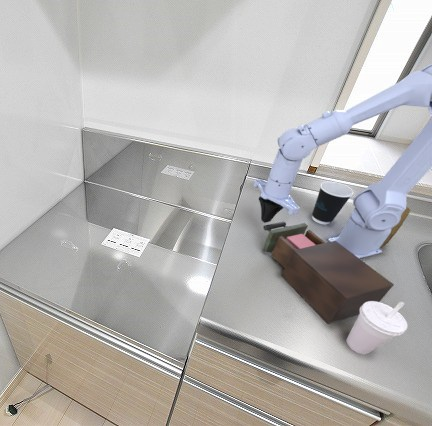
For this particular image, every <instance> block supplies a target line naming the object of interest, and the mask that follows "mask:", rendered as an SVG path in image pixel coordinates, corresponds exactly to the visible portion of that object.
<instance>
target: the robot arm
mask: <svg viewBox="0 0 432 426" xmlns="http://www.w3.org/2000/svg"><path fill="white" fill-rule="evenodd" d="M402 106H407V107H408V106H409V107H421V108H427V110H428V112H429V115H430V116H431V118H430V120H429V121H428V122H427V123H426V124H425V126H424V127H423V128H422V129H421V131H420V132H418V134H417V135H416V136H415V138H414V139H413V140H412V142H410V144H409V145H408V146H407V148H406V149H405V151H403V152H402V154H401V155H400V156H399V157H398V159H397V160H396V161H395V162H394V163H393V164H392V166H391V167H390V169H389V170H388V171H387V172H386V174H385V175H384V176H383V177H382V179H381V180H380V181H377V182H373V183H369V185H368V186H367V187H366V188H365V189H364V190H362V191H360V192H358V193H357V194H356V195H355V196H354V198H353V201H352V204H353V206H354V209H353V210H352V213H351V214H350V217H349V218H348V219H347V221H346V223H345V225H344V227H343V228H342V230H341V232H340V233H339V235H338V236H333V237H330V238H328V239H327V242H331V241H337V242H338V243H339V244H341V245H342V246H343V247H345V248H346V249H347V250H349V251H350V252H351V253H353V254H354V255H355V256H357V257H358V258H359V259H363V258H367V257H370V256H371V257H372V256H374V255H379V254H382V253H383V251H382V249H381V245H382V244H383V243H384V241H385V240H386V238H387V237H388V236H389V234H390V233H391V228H393V227H394V226H396V225H397V224H398V223H399V221H400V219H401V215H402V213H403V212H404V211H405V209H406V206H407V195H408V194H409V193H410V192H411V190H412V189H413V188H414V187H415V186H416V185H417V184H418V183H419V182H420V181H421V179H423V177H424V176H425V175H426V173H428V172H429V171H430V170H431V168H432V63H430V64H428V65H426V66H424V67H422V68H421V69H418V70H415V71H412V72H411V73H409V74H407V76H405V77H404V78H403V79H401V80H400V81H399V82H397V83H394V84H393V85H391V86H388V87H387V88H385V89H384V90H381V91H380V92H378V93H376V94H374V95H372V96H371V97H369V98H367V99H365V100H363V101H361V102H359V103H357V104H356V105H354V106H352V107H350V108H348V109H346V110H339V109H334V110H332V111H329V110H326V111H324V112H323V113H321V116H319V117H318V118H315V119H314V120H312V121H309V122H308V123H306V124H303V123H302V124H300V125H298V126H297V128H289V129H287V130H285V131H284V132H283V133H282V134H281V135H280V136H279V137H277V145H278V147H279V148H278V150H277V152H276V155H275V158H274V160H273V162H272V165H271V169H270V172H269V175H268V177H267V180H266V181H265V180H263V179H262V178H259V179H255V180H254V182H253V185H252V186H253V187H254V188H257V189H259V191H260V192H261V193H260V196H258V201H259V205H260V211H261V212H260V216H261V217H260V221H262V223H264V224H265V223H269V222H271V221H272V220H273V219H274V218H275V216H276V215H277V214H278V213H279V212H280V211H282V210H283V209H285V210H286V211H287V214H288V215H289V216H295V215H298V214H299V212H300V210H301V207H300V206H299V205H298V204H297V203H296V202H295V201H294V199H293V198H292V196H291V195H290V193H291V190H292V187H293V185H294V183H295V180H296V177H297V175H298V172H299V170H300V168H301V166H302V162H303V160H304V159H306V158H307V157H308V156H309V155H311V153H312V151H313V150H315V149H316V148H318V147H321V146H323V145H326V144H328V143H330V142H332V141H334V140H336V139H339V138H341V137H344V136H345V135H348V133H350V131H351V129H352V127H353V126H355V125H357V124H360V123H361V122H364V121H367V120H369V119H372V118H374V117H377V116H379V115H382V114H384V113H386V112H389V111H391V110H395V109H397V108H399V107H402Z"/></svg>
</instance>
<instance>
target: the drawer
mask: <svg viewBox="0 0 432 426" xmlns="http://www.w3.org/2000/svg"><path fill="white" fill-rule="evenodd" d="M308 227H309V225H308V224H307V223H306V222H303V223H299V224H293V225H290V226H289V225H287V222H286V221H283V220H282V221H279V222H278V221H277V222H273V223H269V224H265V225H263V227H262V228H263V230H264V231H267V232H268V234H267V237H266V240H265V241H264V245H263V247H262V252H264V254H267V253H271V252H272V253H271V256H272V258H274V259H275V261H276V262H277V263H278V264H279V265H280V266H282V267H283V268H284V269H285V267H286V265H287V263H288V261H289V259H290V257H291V255H292V252H293V250H297V249H296V248H294V247H293V246H292V245H291V244H290V243H289V242H288V241H287V240H286V238H287V237H290V236H294V235H299V234H303V235H304V236H305V237H307V238H308V239H309V240H310V241H312V242H313V243H314V244H315V245H318V244H322V243H327V241H324V240H323V239H322V238H321V237H320V236H318V235H317V234H315V233H314V232H313V231H312V230H310V229H308Z"/></svg>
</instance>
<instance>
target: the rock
mask: <svg viewBox="0 0 432 426" xmlns="http://www.w3.org/2000/svg"><path fill="white" fill-rule="evenodd" d="M410 213H411V209H410V208H409V207H408V205H406V209H405V211H404V212H403V213H402V215H401V219H400V221H399V223H398V224H397V225H396V226H394V227H393V228H391V233H390V234H389V236H388V237H387V238H386V240H385V241H384V243H383V244H382V245H381V247H380V249H382V248H383V247H385V246H386V245H387V244H388V243H390V241H391V240H392V238H393V237H394V236H395V235H396V234H397V232H398V231H399V230H400V228H401V227H402V226H403V224H404V222H405V220H406V219H407V217H408V216H409V214H410Z"/></svg>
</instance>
